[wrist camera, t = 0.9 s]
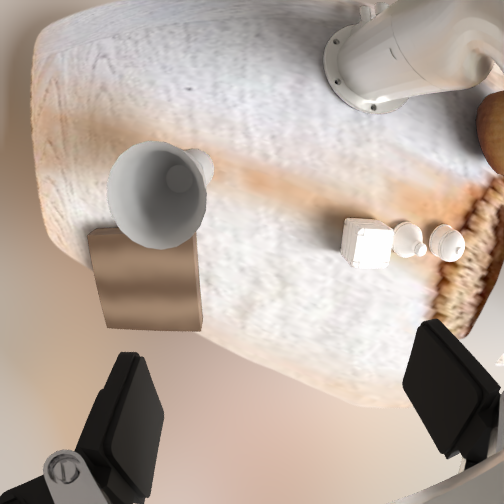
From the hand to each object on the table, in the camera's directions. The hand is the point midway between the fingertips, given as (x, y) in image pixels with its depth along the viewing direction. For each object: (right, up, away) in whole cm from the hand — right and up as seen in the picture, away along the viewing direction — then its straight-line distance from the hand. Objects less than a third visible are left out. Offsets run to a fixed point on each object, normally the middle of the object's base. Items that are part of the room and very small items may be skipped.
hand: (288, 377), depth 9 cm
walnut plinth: (-15, +1, +31) cm, 34 cm away
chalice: (-8, +14, +26) cm, 31 cm away
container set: (+21, +6, +31) cm, 38 cm away
